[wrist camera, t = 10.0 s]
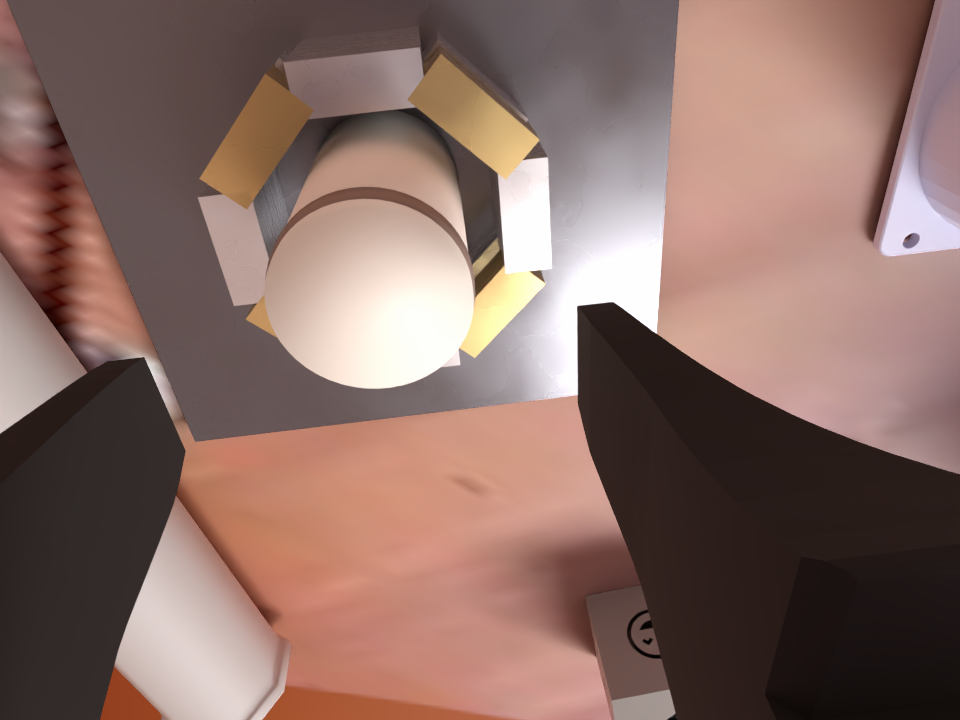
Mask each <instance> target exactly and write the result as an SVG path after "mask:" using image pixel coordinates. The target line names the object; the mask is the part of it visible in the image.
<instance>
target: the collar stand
mask: <svg viewBox="0 0 960 720" xmlns="http://www.w3.org/2000/svg"><path fill="white" fill-rule="evenodd" d="M7 2H8V4H9V7H10V9H11V11H12V14H13V16H14V18H15V21H16V23H17V26H18V28H19V30H20V33H21V35H22V37H23V40H24V42H25V44H26V47H27V49H28V51H29V54H30V56H31V58H32V61H33V63H34V65H35V68H36V70H37V72H38V75H39V77H40V79H41V82H42V84H43V86H44V89H45V91H46V93H47V96H48V98H49V101H50V103H51V105H52V108H53V110H54V112H55V115H56V117H57V119H58V122H59V124H60V126H61V129H62V131H63V133H64V136H65V138H66V140H67V143H68V145H69V147H70V150H71V152H72V154H73V157H74V159H75V161H76V164H77V166H78V168H79V171H80V173H81V175H82V178H83V180H84V183H85V185H86V187H87V190H88V192H89V194H90V197H91V199H92V201H93V204H94V206H95V208H96V211H97V213H98V215H99V218H100V220H101V222H102V225H103V227H104V229H105V232H106V234H107V236H108V239H109V241H110V243H111V246H112V248H113V250H114V253H115V255H116V258H117V260H118V262H119V265H120V267H121V269H122V272H123V274H124V276H125V279H126V281H127V283H128V286H129V288H130V290H131V293H132V295H133V297H134V300H135V302H136V304H137V307H138V309H139V311H140V314H141V316H142V318H143V321H144V323H145V325H146V328H147V330H148V333H149V335H150V337H151V340H152V342H153V344H154V347H155V349H156V351H157V354H158V356H159V358H160V361H161V363H162V365H163V368H164V370H165V372H166V375H167V377H168V379H169V382H170V384H171V386H172V389H173V391H174V393H175V396H176V398H177V400H178V403H179V405H180V407H181V410H182V412H183V415H184V417H185V419H186V422H187V424H188V426H189V429H190V431H191V433H192V436H193V438H194V440H195V442H197V441H205V440H214V439H222V438H230V437H238V436H246V435H255V434H263V433H271V432H279V431H288V430H296V429H304V428H312V427H320V426H329V425H337V424H345V423H353V422H361V421H370V420H378V419H386V418H394V417H402V416H411V415H419V414H427V413H435V412H444V411H452V410H460V409H468V408H476V407H485V406H493V405H501V404H509V403H517V402H526V401H534V400H542V399H550V398H558V397H567V396H575V395H578V364H577V306H581V305H589V304H597V303H606V302H615V303H616V304H617V305H619V306H620V307H622V308H623V309H624V310H626V311H627V312H628V313H630V314H631V315H632V316H634V317H635V318H636V319H638V320H639V321H640V322H642V323H643V324H644V325H646V326H647V327H648V328H650V329H651V330H652V331H654V332H655V333H656V331H657V317H658V302H659V287H660V272H661V258H662V243H663V228H664V213H665V199H666V184H667V169H668V154H669V140H670V125H671V110H672V95H673V81H674V66H675V51H676V36H677V21H678V7H679V0H7ZM387 110H395V111H400V112H404V113H407V114H410V115H412V116H414V117H416V118H419V119H420V120H422V121H424V122H425V123H427V124H428V125H429V126H431V127H432V128H433V129H434V130H435V131H436V132H437V133H438V134H439V135H440V136H441V137H442V138H443V140H444V141H445V143H446V144H447V146H448V147H449V149H450V151H451V153H452V155H453V158H454V160H455V163H456V167H457V172H458V179H459V186H460V194H461V202H462V209H463V217H464V224H465V232H466V240H467V247H468V253H469V256H470V259H471V263H472V268H473V274H474V281H475V305H474V310H473V316H472V321H471V325H470V328H469V330H468V333H467V335H466V337H465V339H464V341H463V343H462V344H461V346H460V347H459V349H458V350H457V351H456V353H455V354H454V355H453V356H452V357H451V358H450V359H449V360H448V361H447V362H446V363H445V364H444V365H443V366H441V367H440V368H439V369H437V370H436V371H434V372H433V373H431V374H429V375H428V376H426V377H424V378H422V379H419V380H417V381H415V382H412V383H408V384H405V385H401V386H396V387H391V388H380V389H370V388H358V387H352V386H347V385H343V384H340V383H337V382H334V381H331V380H328V379H326V378H324V377H322V376H320V375H318V374H316V373H314V372H313V371H311V370H309V369H308V368H306V367H305V366H304V365H302V364H301V363H300V362H298V361H297V360H296V359H295V358H294V357H293V356H292V355H291V354H290V353H289V352H288V351H287V350H286V348H285V347H284V346H283V345H282V343H281V342H280V341H279V339H278V337H277V336H276V334H275V332H274V330H273V328H272V326H271V323H270V321H269V318H268V314H267V311H266V306H265V297H264V291H265V278H266V270H267V265H268V261H269V258H270V256H271V253H272V250H273V248H274V246H275V243H276V241H277V239H278V237H279V235H280V234H281V232H282V230H283V228H284V227H285V226H286V224H287V223H288V220H289V218H290V216H291V213H292V211H293V209H294V206H295V204H296V202H297V200H298V197H299V195H300V193H301V190H302V188H303V186H304V183H305V181H306V179H307V176H308V174H309V172H310V170H311V167H312V165H313V163H314V160H315V158H316V156H317V153H318V151H319V149H320V147H321V145H322V143H323V141H324V140H325V138H326V137H327V136H328V134H329V133H330V132H331V131H332V130H333V129H334V128H335V127H336V126H337V125H338V124H340V123H341V122H342V121H344V120H345V119H347V118H349V117H351V116H353V115H356V114H360V113H369V112H378V111H387Z"/></svg>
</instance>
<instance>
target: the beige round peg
mask: <svg viewBox="0 0 960 720" xmlns="http://www.w3.org/2000/svg"><path fill="white" fill-rule="evenodd" d="M264 297H265V306H266V311H267V314H268V318H269V321H270V323H271V326H272V328H273V330H274V332H275V334H276V336H277V337H278V339H279V341H280V342H281V343H282V345H283V346H284V347H285V348H286V350H287V351H288V352H289V353H290V354H291V355H292V356H293V357H294V358H295V359H296V360H297V361H298V362H300V363H301V364H302V365H304V366H305V367H306V368H308V369H309V370H311V371H313V372H314V373H316V374H318V375H320V376H322V377H324V378H326V379H328V380H331V381H334V382H337V383H340V384H343V385H347V386H352V387H358V388H370V389H380V388H391V387H396V386H401V385H405V384H408V383H412V382H415V381H417V380H419V379H422V378H424V377H426V376H428V375H429V374H431V373H433V372H434V371H436V370H437V369H439V368H440V367H441V366H443V365H444V364H445V363H446V362H447V361H448V360H449V359H450V358H451V357H452V356H453V355H454V354H455V353H456V351H457V350H458V349H459V347H460V346H461V344H462V343H463V341H464V339H465V337H466V335H467V333H468V330H469V328H470V325H471V321H472V316H473V310H474V305H475V281H474V274H473V268H472V263H471V259H470V256H469V253H468V247H467V240H466V232H465V224H464V217H463V209H462V202H461V194H460V186H459V179H458V172H457V167H456V163H455V160H454V158H453V155H452V153H451V151H450V149H449V147H448V146H447V144H446V143H445V141H444V140H443V138H442V137H441V136H440V135H439V134H438V133H437V132H436V131H435V130H434V129H433V128H432V127H431V126H429V125H428V124H427V123H425V122H424V121H422V120H420V119H419V118H416V117H414V116H412V115H410V114H407V113H404V112H400V111H395V110H387V111H378V112H369V113H360V114H356V115H353V116H351V117H349V118H347V119H345V120H344V121H342V122H341V123H340V124H338V125H337V126H336V127H335V128H334V129H333V130H332V131H331V132H330V133H329V134H328V136H327V137H326V138H325V140H324V141H323V143H322V145H321V147H320V149H319V151H318V153H317V156H316V158H315V160H314V163H313V165H312V167H311V170H310V172H309V174H308V176H307V179H306V181H305V183H304V186H303V188H302V190H301V193H300V195H299V197H298V200H297V202H296V204H295V206H294V209H293V211H292V213H291V216H290V218H289V220H288V223H287V224H286V226H285V227H284V228H283V230H282V232H281V234H280V235H279V237H278V239H277V241H276V243H275V246H274V248H273V250H272V253H271V256H270V258H269V261H268V265H267V270H266V278H265V291H264Z"/></svg>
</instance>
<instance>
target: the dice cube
mask: <svg viewBox="0 0 960 720" xmlns="http://www.w3.org/2000/svg"><path fill="white" fill-rule="evenodd" d="M585 598H586V603H587V609H588V614H589V619H590V625H591V630H592V636H593V641H594V646H595V652H596V657H597V661H598V665H599V669H600V674H601V678H602V682H603V686H604V690H605V694H606V698H607V702H608V706H609V710H610V714H611V718H612V720H677V717H676V713H675V709H674V705H673V701H672V697H671V693H670V689H669V686H668V682H667V678H666V674H665V671H664V667H663V663H662V659H661V655H660V652H659V648H658V644H657V640H656V637H655V633H654V630H653V626H652V622H651V619H650V615H649V612H648V608H647V604H646V601H645V597H644V594H643V590H642V587H641V585H637V586H632V587H627V588H622V589H617V590H612V591H607V592H602V593H597V594H592V595H587V596H585Z"/></svg>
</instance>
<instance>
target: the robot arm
mask: <svg viewBox="0 0 960 720" xmlns="http://www.w3.org/2000/svg"><path fill="white" fill-rule="evenodd" d="M909 234H912V235H911V237H910V239H909V240H908V241H906V242H904V243H903V241H904V239H905V237H907V236H908V235H909ZM874 247H875V249H876V250H877V251H878V252H880V253H881V254H883V255H884V256H899V255H907V254H916V253H924V252H932V251H941V250H949V249H958V248H960V0H935V3H934V7H933V11H932V15H931V19H930V23H929V27H928V31H927V35H926V39H925V42H924V46H923V50H922V54H921V58H920V62H919V66H918V70H917V74H916V78H915V81H914V85H913V89H912V93H911V97H910V101H909V105H908V109H907V113H906V117H905V120H904V124H903V128H902V132H901V136H900V140H899V144H898V148H897V152H896V156H895V159H894V163H893V167H892V171H891V175H890V179H889V183H888V187H887V191H886V195H885V198H884V202H883V206H882V210H881V214H880V218H879V222H878V226H877V230H876V234H875V238H874ZM577 364H578V406H579V410H580V414H581V418H582V423H583V427H584V431H585V435H586V439H587V442H588V446H589V450H590V453H591V456H592V459H593V461H594V464H595V466H596V469H597V472H598V474H599V477H600V479H601V482H602V484H603V487H604V489H605V492H606V495H607V497H608V500H609V502H610V505H611V507H612V510H613V512H614V515H615V517H616V520H617V522H618V525H619V527H620V530H621V532H622V535H623V537H624V540H625V542H626V545H627V547H628V550H629V552H630V555H631V557H632V560H633V563H634V566H635V569H636V572H637V574H638V577H639V580H640V583H641V587H642V590H643V594H644V597H645V601H646V604H647V608H648V612H649V615H650V619H651V622H652V626H653V630H654V633H655V637H656V640H657V644H658V648H659V652H660V655H661V659H662V663H663V667H664V671H665V674H666V678H667V682H668V686H669V689H670V693H671V697H672V701H673V705H674V709H675V713H676V717H677V720H960V474H956V473H953V472H949V471H946V470H942V469H939V468H936V467H933V466H930V465H926V464H923V463H920V462H917V461H913V460H910V459H907V458H904V457H901V456H897V455H894V454H891V453H888V452H885V451H883V450H880V449H877V448H874V447H871V446H868V445H865V444H863V443H860V442H857V441H855V440H852V439H850V438H847V437H845V436H842V435H840V434H837V433H835V432H832V431H829V430H827V429H824V428H822V427H819V426H817V425H815V424H812V423H810V422H808V421H805V420H803V419H801V418H799V417H796V416H794V415H792V414H790V413H788V412H786V411H784V410H782V409H780V408H778V407H776V406H774V405H772V404H770V403H768V402H766V401H764V400H762V399H760V398H757V397H755V396H754V395H752V394H750V393H748V392H746V391H744V390H743V389H741V388H739V387H737V386H735V385H734V384H732V383H730V382H729V381H727V380H725V379H724V378H722V377H721V376H719V375H717V374H716V373H714V372H712V371H711V370H709V369H707V368H706V367H704V366H703V365H701V364H700V363H698V362H696V361H695V360H693V359H692V358H690V357H689V356H687V355H686V354H684V353H683V352H681V351H680V350H679V349H677V348H676V347H674V346H673V345H672V344H670V343H669V342H667V341H666V340H665V339H663V338H662V337H660V336H659V335H658V334H656V333H655V332H654V331H652V330H651V329H650V328H648V327H647V326H646V325H644V324H643V323H642V322H640V321H639V320H638V319H636V318H635V317H634V316H632V315H631V314H630V313H628V312H627V311H626V310H624V309H623V308H622V307H620V306H619V305H617V304H616V303H615V302H606V303H597V304H589V305H581V306H577ZM184 456H185V449H184V446H183V444H182V442H181V440H180V437H179V435H178V433H177V430H176V428H175V426H174V424H173V421H172V419H171V417H170V415H169V412H168V410H167V408H166V406H165V403H164V401H163V399H162V397H161V394H160V392H159V390H158V387H157V385H156V383H155V381H154V378H153V376H152V374H151V372H150V369H149V367H148V365H147V363H146V360H145V358H144V357H142V358H133V359H125V360H116V361H108V362H106V363H104V364H102V365H100V366H98V367H96V368H95V369H93V370H91V371H90V372H88V373H87V374H85V375H83V376H82V377H80V378H79V379H77V380H76V381H74V382H73V383H71V384H70V385H68V386H67V387H66V388H64V389H63V390H61V391H60V392H58V393H57V394H56V395H54V396H53V397H51V398H50V399H48V400H47V401H46V402H44V403H43V404H41V405H40V406H39V407H37V408H36V409H34V410H33V411H31V412H30V413H29V414H27V415H26V416H24V417H23V418H21V419H20V420H19V421H17V422H16V423H14V424H13V425H12V426H10V427H9V428H7V429H6V430H4V431H3V432H2V433H0V720H100V717H101V713H102V709H103V705H104V701H105V698H106V694H107V690H108V686H109V683H110V679H111V675H112V672H113V668H114V665H115V661H116V657H117V653H118V650H119V647H120V644H121V641H122V638H123V635H124V632H125V629H126V627H127V624H128V621H129V618H130V616H131V613H132V611H133V608H134V606H135V603H136V601H137V598H138V595H139V593H140V590H141V588H142V585H143V583H144V580H145V578H146V575H147V573H148V570H149V568H150V565H151V563H152V560H153V557H154V555H155V552H156V550H157V547H158V545H159V542H160V540H161V537H162V534H163V532H164V529H165V526H166V524H167V521H168V519H169V516H170V513H171V510H172V508H173V505H174V502H175V497H176V493H177V489H178V485H179V481H180V476H181V471H182V466H183V461H184Z"/></svg>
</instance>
